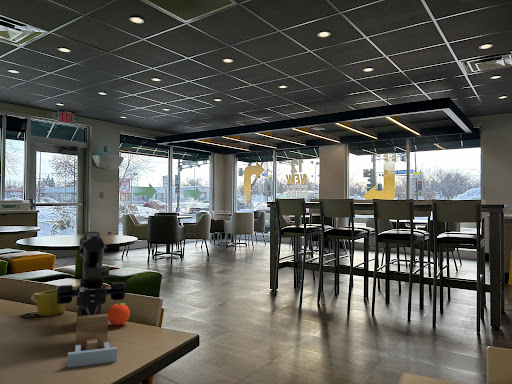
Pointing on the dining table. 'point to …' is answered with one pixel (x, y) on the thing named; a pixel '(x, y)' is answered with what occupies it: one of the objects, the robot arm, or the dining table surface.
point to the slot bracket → (92, 356)
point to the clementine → (118, 314)
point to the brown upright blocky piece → (91, 331)
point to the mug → (47, 303)
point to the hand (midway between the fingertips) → (91, 317)
